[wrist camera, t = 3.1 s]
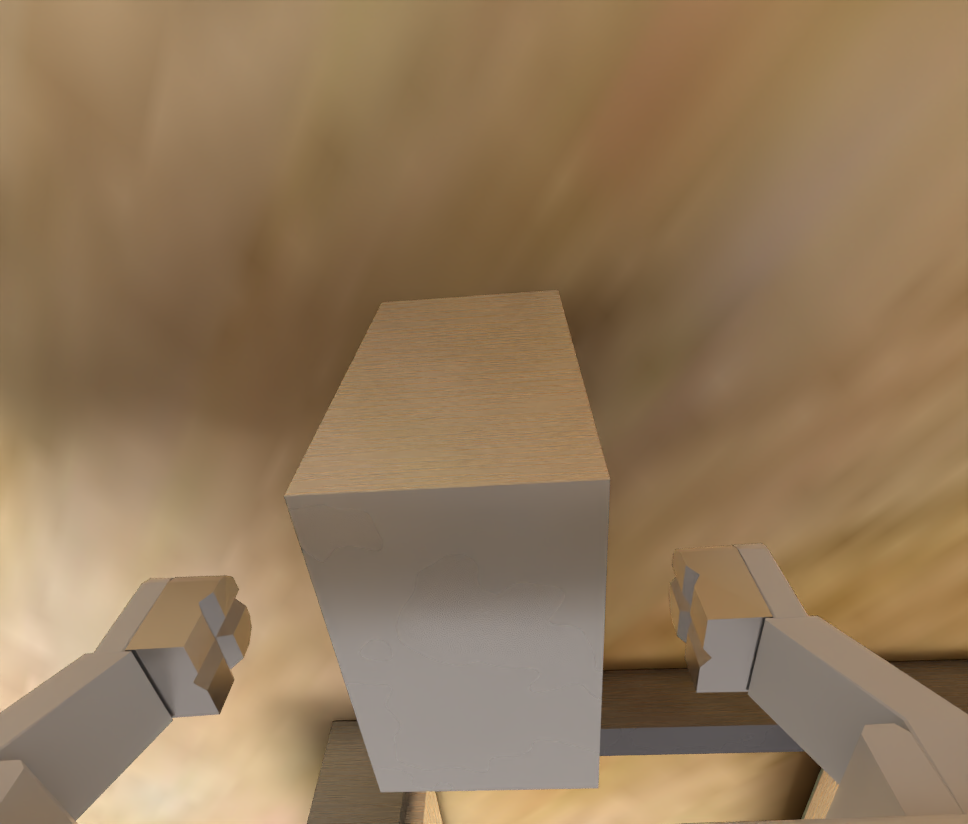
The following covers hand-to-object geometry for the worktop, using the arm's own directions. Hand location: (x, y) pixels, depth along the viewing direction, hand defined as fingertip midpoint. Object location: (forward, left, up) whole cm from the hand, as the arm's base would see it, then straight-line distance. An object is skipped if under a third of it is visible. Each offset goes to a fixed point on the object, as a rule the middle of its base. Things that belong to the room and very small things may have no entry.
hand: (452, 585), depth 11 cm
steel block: (0, 0, -5) cm, 5 cm away
